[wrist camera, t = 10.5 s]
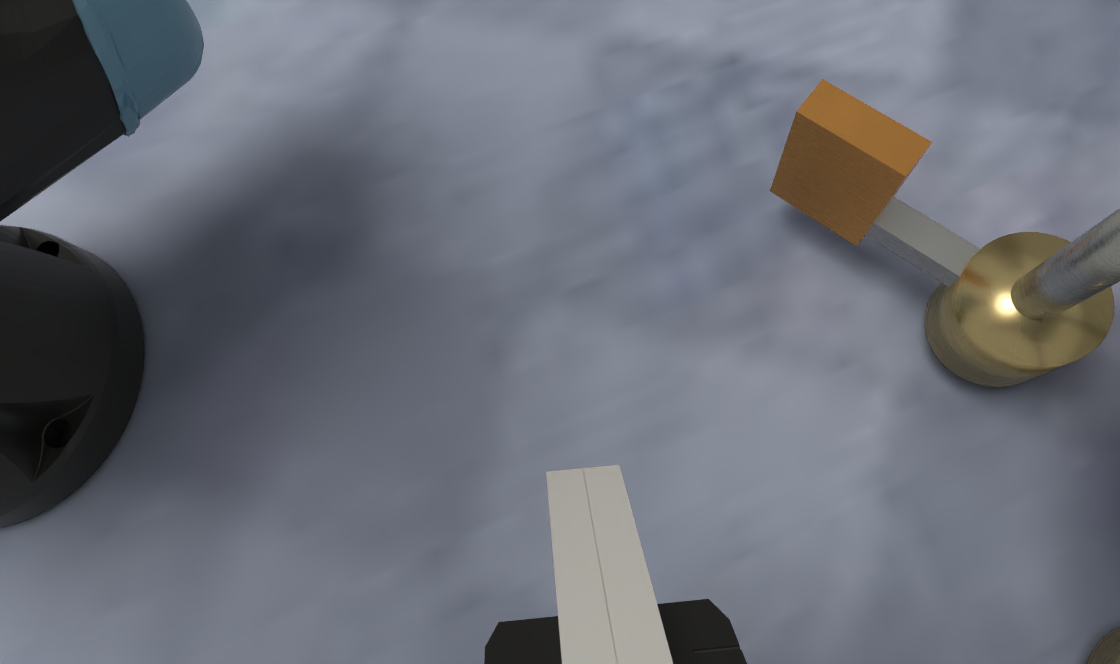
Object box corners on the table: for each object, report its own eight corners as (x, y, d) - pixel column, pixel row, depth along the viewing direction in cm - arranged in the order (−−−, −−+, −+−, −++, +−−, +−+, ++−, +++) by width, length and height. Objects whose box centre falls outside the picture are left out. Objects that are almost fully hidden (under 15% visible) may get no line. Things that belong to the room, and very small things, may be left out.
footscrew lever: (1068, 321, 31) (1334, 185, 19) (1001, 415, 31) (1233, 338, 18) (804, 160, 35) (886, -44, 23) (739, 241, 34) (787, 78, 22)
